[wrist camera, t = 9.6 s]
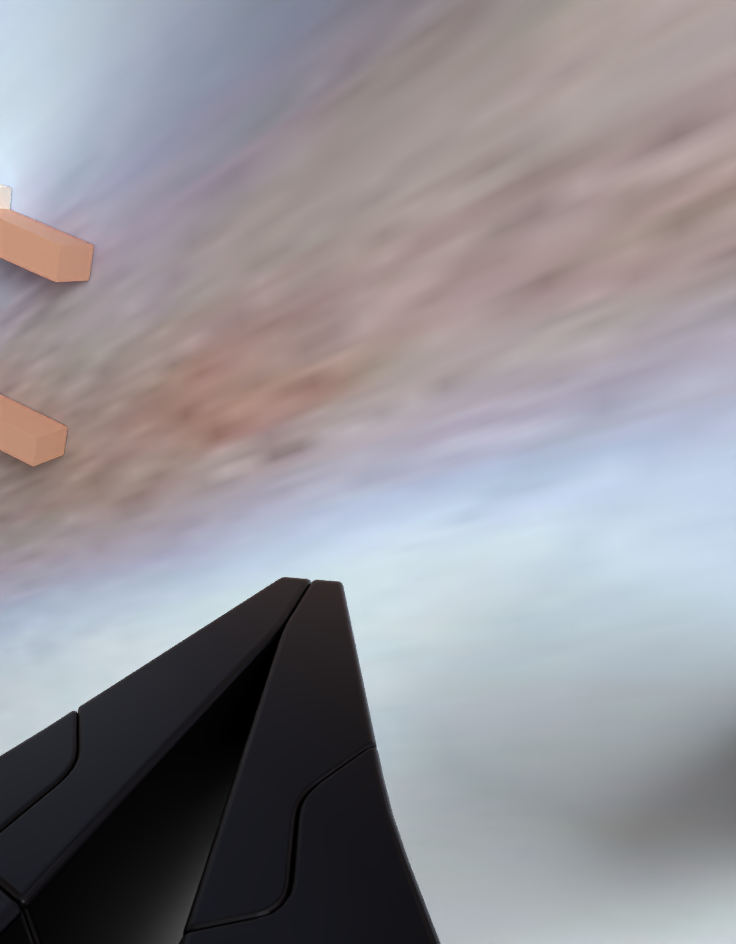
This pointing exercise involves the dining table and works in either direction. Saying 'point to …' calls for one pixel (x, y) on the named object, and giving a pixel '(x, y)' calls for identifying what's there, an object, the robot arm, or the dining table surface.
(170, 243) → the dining table surface
